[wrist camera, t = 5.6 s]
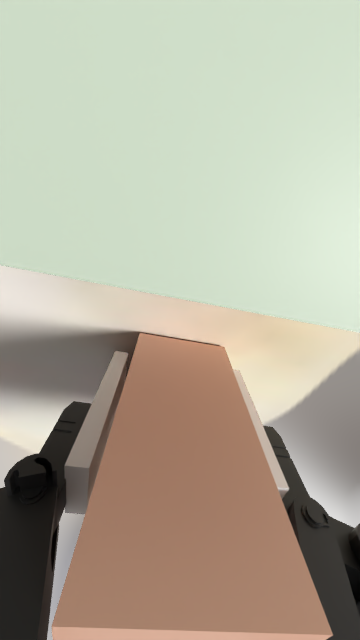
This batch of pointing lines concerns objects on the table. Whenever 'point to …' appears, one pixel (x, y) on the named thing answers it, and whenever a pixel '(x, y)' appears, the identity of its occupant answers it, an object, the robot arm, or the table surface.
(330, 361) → the table surface
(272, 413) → the table surface
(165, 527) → the key block
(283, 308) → the lid
